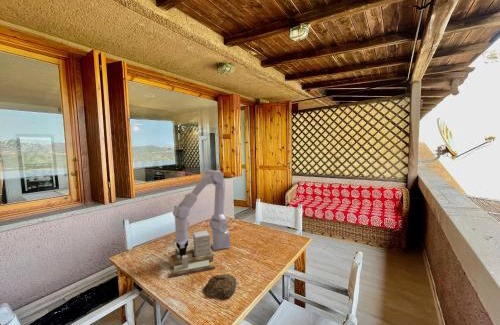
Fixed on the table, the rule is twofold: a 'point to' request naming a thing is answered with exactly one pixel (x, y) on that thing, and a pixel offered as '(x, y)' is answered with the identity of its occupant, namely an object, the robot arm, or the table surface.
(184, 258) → the strip
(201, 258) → the wooden tray
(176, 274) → the lane frame
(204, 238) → the supplement box
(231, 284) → the bread roll
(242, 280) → the table surface
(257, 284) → the table surface
